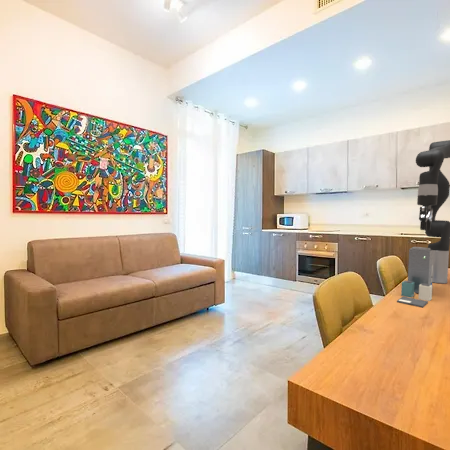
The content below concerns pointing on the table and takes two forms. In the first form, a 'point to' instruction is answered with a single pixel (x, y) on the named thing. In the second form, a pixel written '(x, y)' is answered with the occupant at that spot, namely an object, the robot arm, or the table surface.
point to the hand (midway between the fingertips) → (425, 229)
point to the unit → (420, 266)
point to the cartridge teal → (407, 288)
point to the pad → (412, 301)
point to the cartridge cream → (425, 291)
